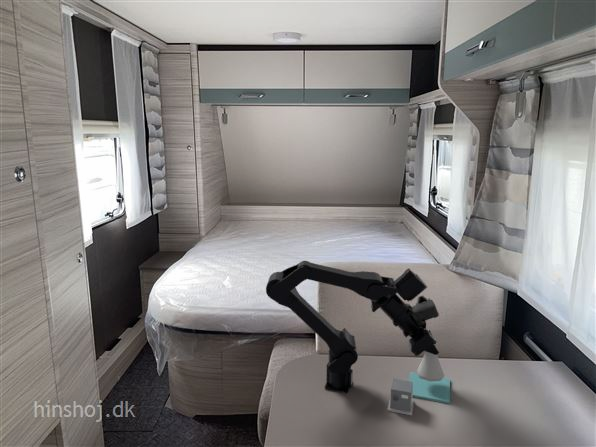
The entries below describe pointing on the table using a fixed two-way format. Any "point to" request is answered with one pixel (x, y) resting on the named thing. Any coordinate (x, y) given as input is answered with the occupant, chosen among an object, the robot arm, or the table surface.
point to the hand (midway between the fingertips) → (436, 350)
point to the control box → (401, 397)
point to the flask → (430, 367)
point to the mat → (431, 389)
